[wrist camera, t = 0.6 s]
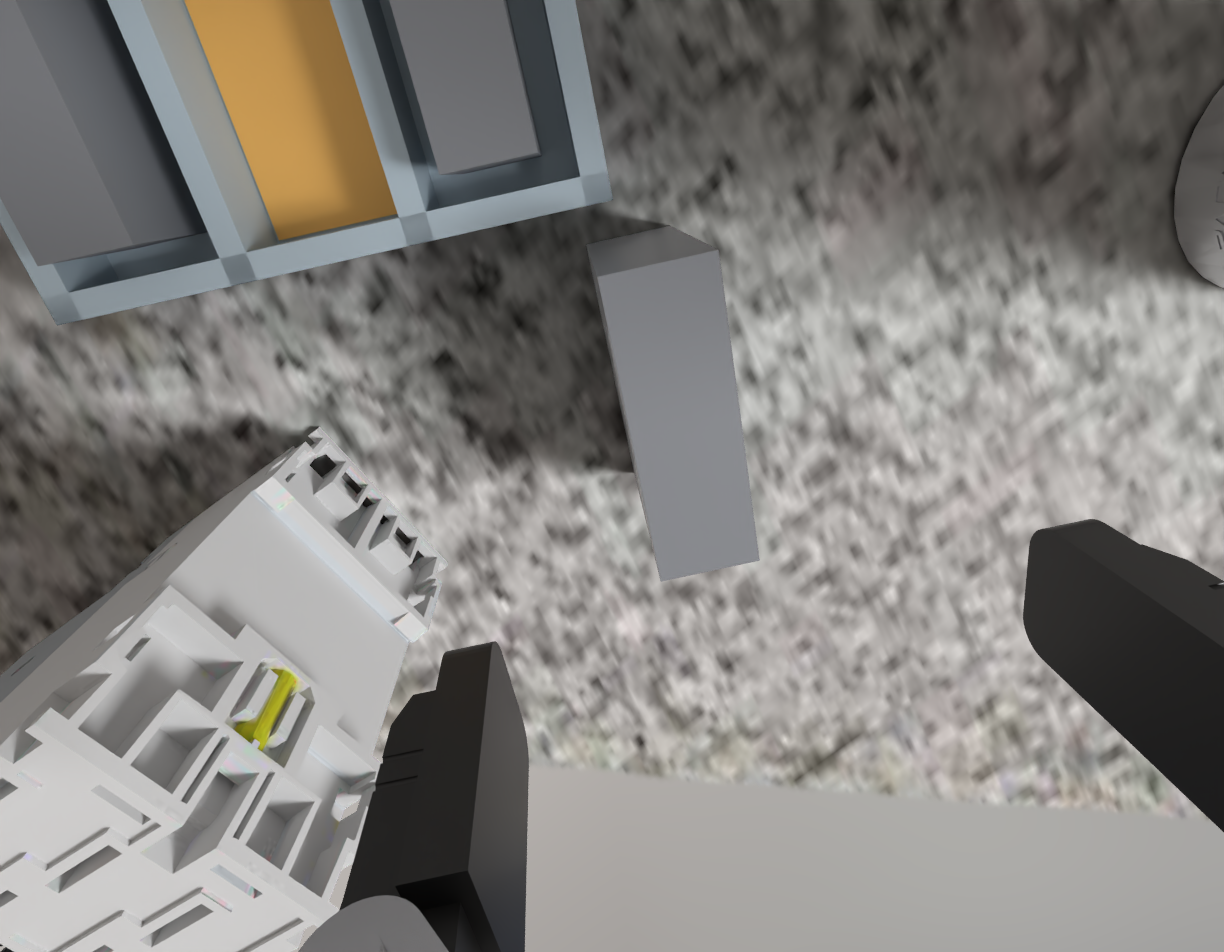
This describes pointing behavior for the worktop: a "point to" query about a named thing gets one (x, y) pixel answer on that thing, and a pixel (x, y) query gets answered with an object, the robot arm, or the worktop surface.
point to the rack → (278, 135)
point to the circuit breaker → (212, 724)
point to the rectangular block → (677, 396)
